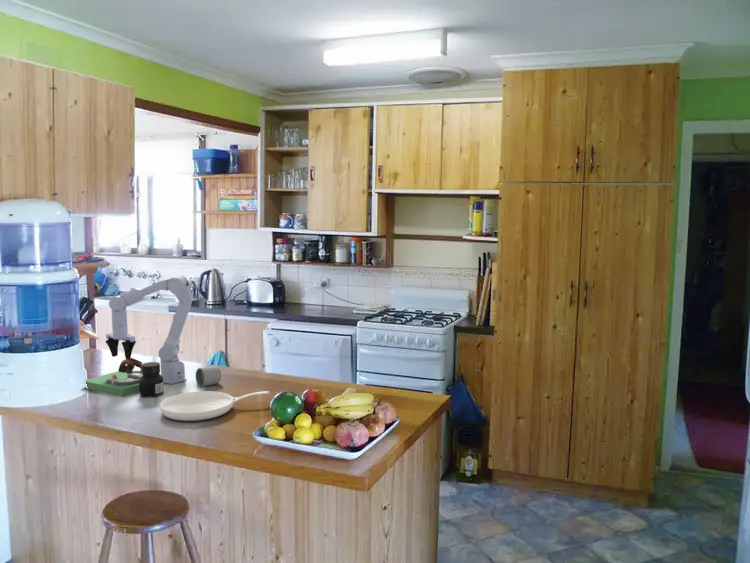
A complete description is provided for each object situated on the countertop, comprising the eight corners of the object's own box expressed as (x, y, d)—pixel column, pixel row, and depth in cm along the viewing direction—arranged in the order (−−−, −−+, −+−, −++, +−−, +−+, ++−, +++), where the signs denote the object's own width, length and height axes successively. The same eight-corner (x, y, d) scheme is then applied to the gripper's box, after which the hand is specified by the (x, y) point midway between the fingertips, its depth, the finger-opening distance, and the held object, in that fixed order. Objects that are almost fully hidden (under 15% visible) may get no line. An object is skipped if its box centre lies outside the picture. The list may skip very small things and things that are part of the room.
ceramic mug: (222, 384, 251) (221, 366, 250) (204, 388, 245) (203, 369, 244) (209, 380, 258) (208, 362, 258) (191, 383, 253) (190, 365, 252)
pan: (159, 406, 225) (158, 393, 224) (263, 394, 238) (262, 382, 237) (161, 428, 201) (160, 414, 201) (276, 415, 215) (275, 401, 214)
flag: (118, 395, 237) (116, 374, 236) (116, 395, 237) (115, 375, 236) (113, 394, 238) (112, 373, 237) (112, 394, 238) (111, 374, 237)
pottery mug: (115, 373, 270) (123, 356, 272) (136, 381, 273) (144, 363, 276) (116, 373, 259) (125, 354, 262) (138, 380, 262) (146, 362, 265)
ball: (120, 382, 241) (122, 378, 245) (123, 392, 242) (125, 388, 246) (131, 379, 242) (133, 375, 246) (135, 389, 243) (137, 385, 247)
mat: (156, 386, 248) (155, 376, 248) (122, 397, 235) (121, 386, 234) (117, 378, 260) (116, 368, 260) (83, 387, 247) (82, 377, 246)
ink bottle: (163, 397, 234) (162, 366, 233) (138, 399, 232) (137, 368, 231) (164, 389, 244) (163, 360, 242) (140, 391, 241) (139, 362, 240)
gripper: (140, 324, 253) (141, 356, 255) (115, 321, 259) (116, 353, 261) (126, 327, 247) (128, 360, 248) (101, 324, 253) (102, 356, 255)
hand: (121, 357), depth 254 cm, fingers open, 7 cm apart
